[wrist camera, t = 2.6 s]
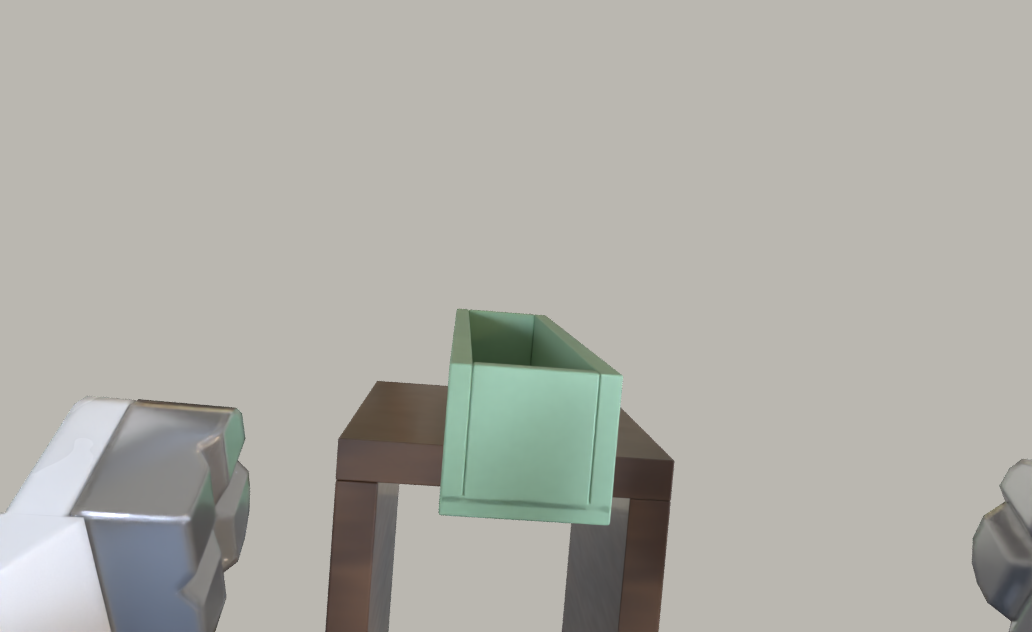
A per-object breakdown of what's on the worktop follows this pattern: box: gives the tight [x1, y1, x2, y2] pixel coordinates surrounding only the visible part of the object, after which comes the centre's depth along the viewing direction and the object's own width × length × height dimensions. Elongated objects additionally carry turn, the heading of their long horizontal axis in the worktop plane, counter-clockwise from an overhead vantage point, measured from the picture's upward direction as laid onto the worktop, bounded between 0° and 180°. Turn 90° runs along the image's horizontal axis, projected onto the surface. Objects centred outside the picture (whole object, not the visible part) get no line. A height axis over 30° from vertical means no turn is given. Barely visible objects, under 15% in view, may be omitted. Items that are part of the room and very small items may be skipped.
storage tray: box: [439, 309, 623, 525], centre depth 34 cm, size 4×22×4 cm, turn 3°
